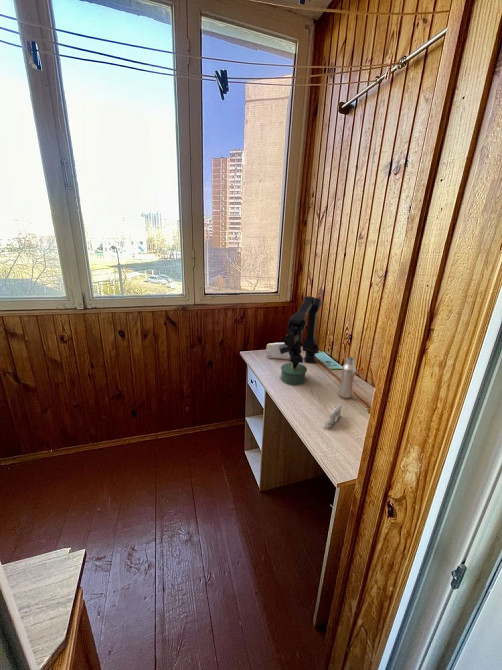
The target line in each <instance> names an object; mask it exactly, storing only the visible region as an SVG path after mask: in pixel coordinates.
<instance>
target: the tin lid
mask: <svg viewBox="0 0 502 670" xmlns="http://www.w3.org/2000/svg"><path fill="white" fill-rule="evenodd" d="M280 370H281V372H282V371H283V372H285V373H287V374H290V375H302V374H304V373H306V374H307V372H308V368H307V367H306V366H305V365H304V364H302V363H299V364H298V365H297V367H296V368H295V369H293V364H292V362H286V363H284V364H282V365H281V366H280Z"/></svg>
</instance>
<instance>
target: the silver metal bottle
mask: <svg viewBox="0 0 502 670" xmlns="http://www.w3.org/2000/svg"><path fill="white" fill-rule="evenodd" d="M355 361H356V359H355V358H354V357H353V356H352V357H351V356H347V357H346V360H345V363H344V364H343V365H342V366H341V382H340V386H339V388H338V394H339V396H340V397H341V398H343V399H350V398H351V397H352V396H353V394H354V389H353V386H354V380H355V377H356V373H357V367H356V365H355Z"/></svg>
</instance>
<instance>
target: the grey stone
mask: <svg viewBox="0 0 502 670" xmlns="http://www.w3.org/2000/svg"><path fill="white" fill-rule="evenodd" d="M341 411H342V405H341V404H338V405H337V406H336V407H334V408H333V409H332V410H331V412H330V413H329V414H328V416H329V418H328V419H327V420H326V421H325V429H328V430H329V429H330V428H331V426H332V425H334V423H336V422H337V421H338V419H339V418H340V417H341Z"/></svg>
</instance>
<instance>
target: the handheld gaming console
mask: <svg viewBox="0 0 502 670" xmlns="http://www.w3.org/2000/svg"><path fill="white" fill-rule="evenodd" d="M283 344H285V343H284V342H272V343H271V342H270V343H267V344H266V346H265V347H266V348H265V353H266V357H267V358H268V359H289V360H290V358H289V357H290V355H289V352H287V353H284V354H281V353H280V350H279V346H280V345H283Z"/></svg>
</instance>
